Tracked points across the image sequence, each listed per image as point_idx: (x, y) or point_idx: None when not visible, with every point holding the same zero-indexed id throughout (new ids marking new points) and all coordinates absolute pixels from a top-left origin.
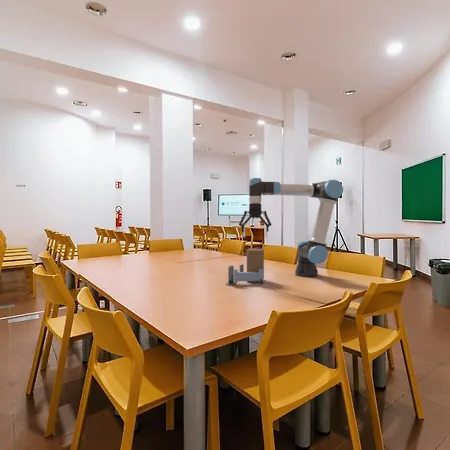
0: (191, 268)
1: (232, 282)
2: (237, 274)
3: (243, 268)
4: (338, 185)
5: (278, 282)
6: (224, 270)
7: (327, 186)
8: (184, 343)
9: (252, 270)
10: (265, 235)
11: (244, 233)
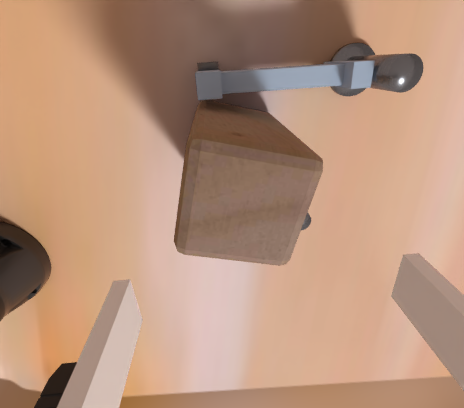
0: None
1: (351, 58)
2: (343, 62)
3: None
4: None
5: (121, 110)
6: (326, 314)
7: None
8: None
9: (254, 117)
10: (126, 304)
11: (449, 290)
